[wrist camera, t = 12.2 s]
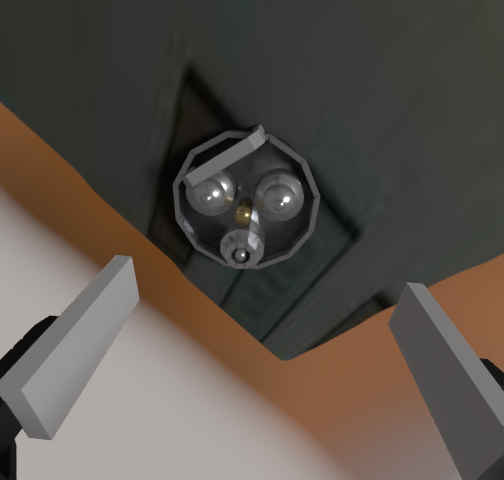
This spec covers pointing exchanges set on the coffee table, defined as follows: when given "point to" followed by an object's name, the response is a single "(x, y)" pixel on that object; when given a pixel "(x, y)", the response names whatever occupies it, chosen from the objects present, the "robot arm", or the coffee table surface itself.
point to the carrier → (249, 198)
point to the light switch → (225, 158)
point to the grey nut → (243, 243)
